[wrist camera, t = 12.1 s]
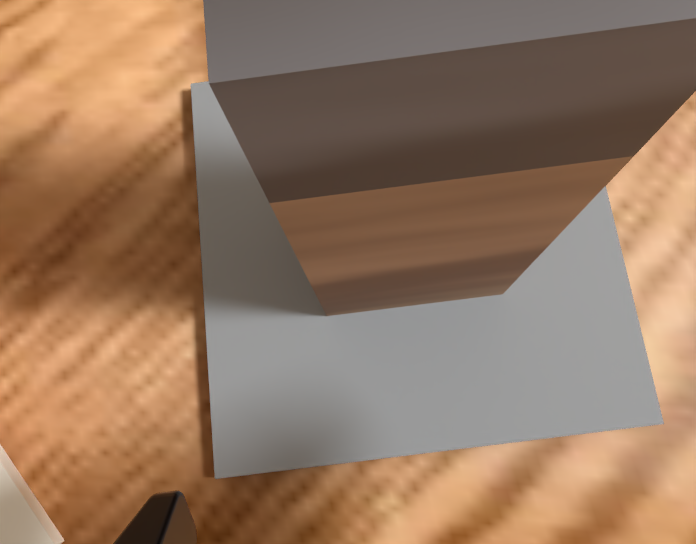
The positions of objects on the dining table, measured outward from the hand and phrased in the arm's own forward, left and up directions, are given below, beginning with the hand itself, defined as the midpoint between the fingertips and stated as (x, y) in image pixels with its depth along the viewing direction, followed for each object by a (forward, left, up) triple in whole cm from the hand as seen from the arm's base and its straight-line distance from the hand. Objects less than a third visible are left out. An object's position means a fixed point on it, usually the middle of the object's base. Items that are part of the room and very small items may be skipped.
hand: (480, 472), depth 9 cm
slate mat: (+6, 0, -8) cm, 10 cm away
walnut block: (+6, 0, -7) cm, 9 cm away
